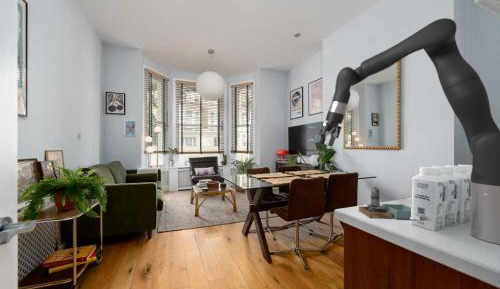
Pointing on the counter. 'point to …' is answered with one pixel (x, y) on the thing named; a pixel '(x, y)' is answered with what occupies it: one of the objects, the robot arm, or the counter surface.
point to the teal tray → (398, 211)
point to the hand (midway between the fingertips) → (325, 145)
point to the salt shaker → (375, 201)
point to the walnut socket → (376, 213)
